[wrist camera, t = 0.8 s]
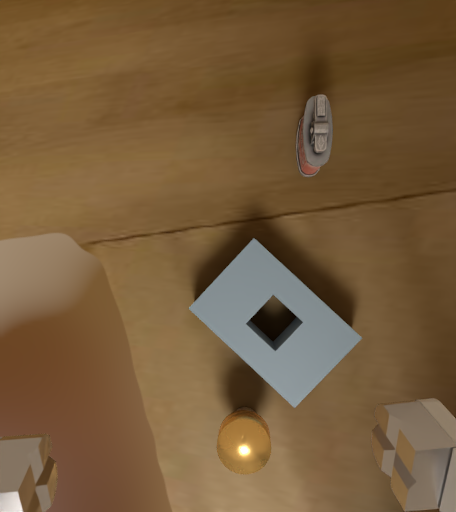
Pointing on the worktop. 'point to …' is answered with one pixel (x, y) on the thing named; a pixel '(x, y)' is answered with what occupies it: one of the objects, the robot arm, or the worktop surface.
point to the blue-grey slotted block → (291, 339)
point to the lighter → (314, 136)
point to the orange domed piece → (244, 441)
